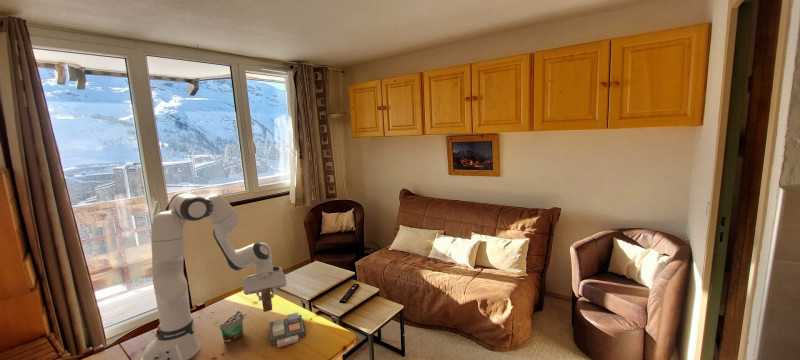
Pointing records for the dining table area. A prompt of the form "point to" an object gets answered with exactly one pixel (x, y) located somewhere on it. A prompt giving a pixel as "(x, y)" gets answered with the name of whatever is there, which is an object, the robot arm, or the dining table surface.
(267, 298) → the dark brown block
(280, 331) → the key cream
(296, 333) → the keypad
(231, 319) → the food container
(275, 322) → the key sage
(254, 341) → the dining table surface
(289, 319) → the key slate
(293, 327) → the key terracotta
